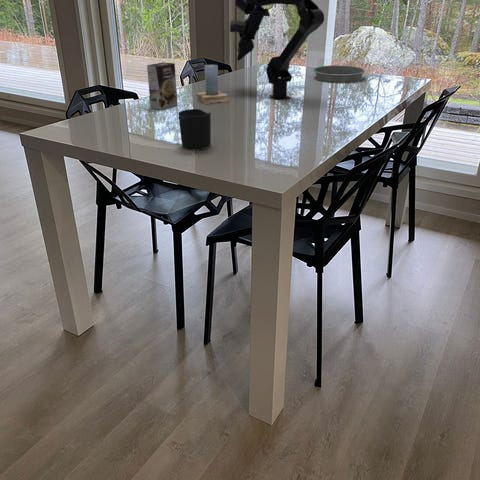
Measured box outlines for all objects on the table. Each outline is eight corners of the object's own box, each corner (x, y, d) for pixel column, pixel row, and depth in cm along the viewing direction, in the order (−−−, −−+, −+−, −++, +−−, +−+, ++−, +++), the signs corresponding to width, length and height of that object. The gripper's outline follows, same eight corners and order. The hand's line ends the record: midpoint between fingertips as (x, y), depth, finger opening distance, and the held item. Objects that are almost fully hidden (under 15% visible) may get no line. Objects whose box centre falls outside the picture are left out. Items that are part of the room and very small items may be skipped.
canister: (221, 93, 198) (220, 65, 192) (213, 96, 194) (212, 67, 189) (211, 91, 200) (210, 64, 195) (203, 94, 197) (201, 66, 191)
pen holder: (212, 140, 151) (210, 108, 146) (211, 150, 143) (210, 116, 138) (182, 141, 151) (179, 109, 146) (179, 151, 143) (177, 117, 138)
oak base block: (228, 101, 196) (228, 95, 195) (205, 104, 193) (205, 97, 192) (219, 96, 204) (218, 90, 203) (196, 99, 201) (196, 92, 200)
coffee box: (161, 110, 185) (158, 66, 177) (150, 108, 188) (145, 64, 180) (178, 105, 191) (175, 63, 183) (166, 103, 194) (163, 61, 187)
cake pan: (303, 77, 242) (303, 67, 239) (344, 72, 250) (344, 63, 248) (331, 86, 222) (332, 76, 220) (374, 81, 231) (375, 71, 229)
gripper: (236, 4, 201) (222, 39, 211) (235, 20, 187) (219, 56, 197) (260, 16, 204) (245, 50, 214) (261, 32, 190) (244, 67, 200)
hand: (238, 55), depth 206 cm, fingers open, 9 cm apart
